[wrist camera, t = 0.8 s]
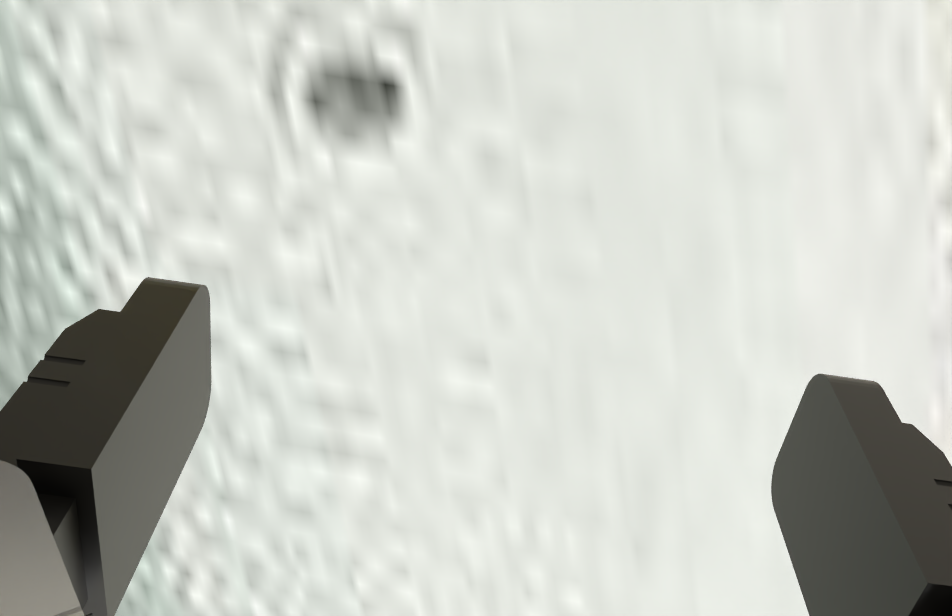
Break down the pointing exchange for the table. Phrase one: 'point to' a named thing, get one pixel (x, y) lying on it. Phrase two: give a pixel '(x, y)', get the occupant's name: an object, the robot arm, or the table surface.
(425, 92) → the table surface
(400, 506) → the table surface
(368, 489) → the table surface
